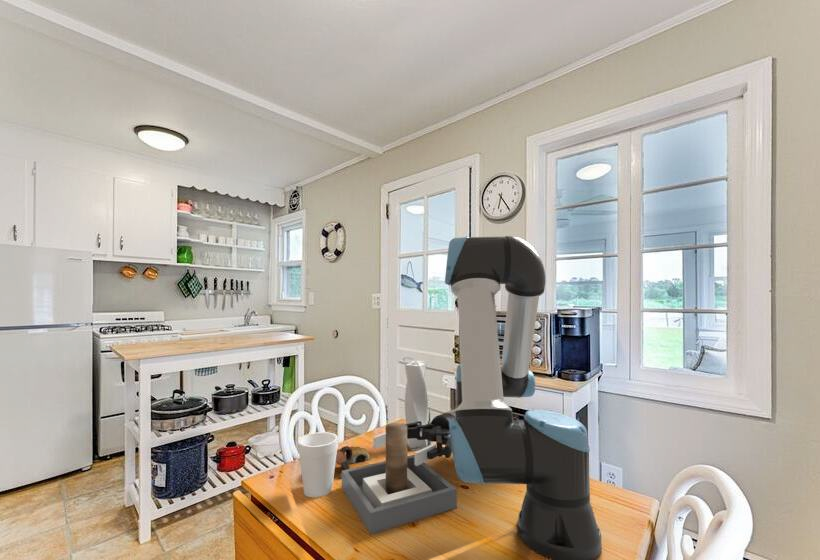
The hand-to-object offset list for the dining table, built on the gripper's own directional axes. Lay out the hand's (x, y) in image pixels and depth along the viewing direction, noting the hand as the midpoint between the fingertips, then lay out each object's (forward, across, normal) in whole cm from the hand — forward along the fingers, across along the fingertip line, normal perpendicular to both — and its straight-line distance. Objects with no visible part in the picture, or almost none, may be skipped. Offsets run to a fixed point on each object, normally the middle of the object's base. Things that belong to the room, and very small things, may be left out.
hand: (393, 450), depth 86 cm
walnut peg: (0, 0, -10) cm, 11 cm away
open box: (0, 0, -12) cm, 12 cm away
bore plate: (0, 0, -11) cm, 11 cm away
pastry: (-8, +24, -12) cm, 28 cm away
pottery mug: (+1, +21, -12) cm, 24 cm away
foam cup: (+10, +16, -12) cm, 22 cm away
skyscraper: (-27, +18, -12) cm, 35 cm away
